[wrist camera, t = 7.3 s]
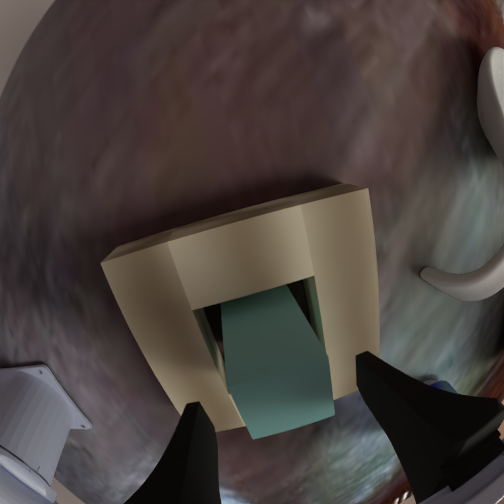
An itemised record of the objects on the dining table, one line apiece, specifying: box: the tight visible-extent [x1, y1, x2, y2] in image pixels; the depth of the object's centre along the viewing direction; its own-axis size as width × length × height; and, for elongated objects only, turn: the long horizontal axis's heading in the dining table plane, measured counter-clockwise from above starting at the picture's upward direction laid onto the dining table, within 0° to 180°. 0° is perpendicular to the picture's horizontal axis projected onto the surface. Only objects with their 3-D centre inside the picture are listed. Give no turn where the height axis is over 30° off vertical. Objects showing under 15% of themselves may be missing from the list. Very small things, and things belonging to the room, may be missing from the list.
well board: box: [101, 183, 380, 432], centre depth 17 cm, size 14×14×3 cm
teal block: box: [221, 284, 335, 439], centre depth 14 cm, size 4×4×8 cm
